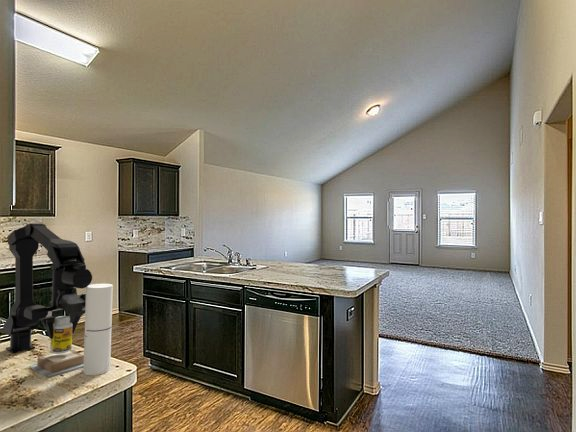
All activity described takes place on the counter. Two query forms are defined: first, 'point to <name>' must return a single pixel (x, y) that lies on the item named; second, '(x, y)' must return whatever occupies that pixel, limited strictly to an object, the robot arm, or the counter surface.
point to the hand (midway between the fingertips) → (61, 336)
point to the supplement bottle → (61, 335)
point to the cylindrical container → (98, 329)
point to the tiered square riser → (58, 363)
